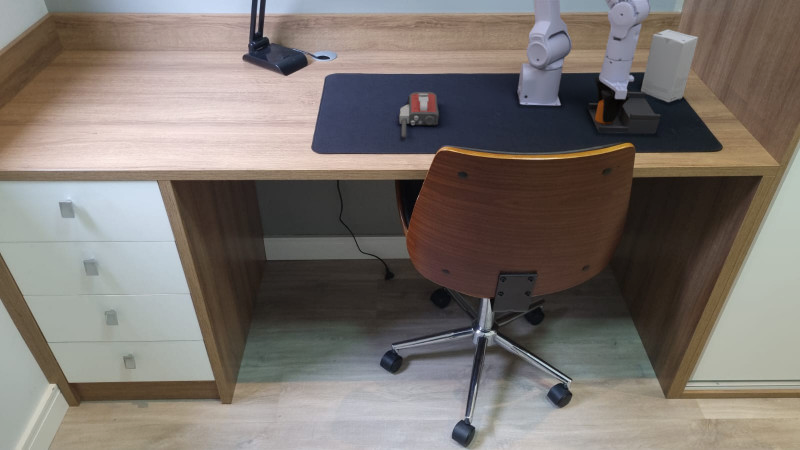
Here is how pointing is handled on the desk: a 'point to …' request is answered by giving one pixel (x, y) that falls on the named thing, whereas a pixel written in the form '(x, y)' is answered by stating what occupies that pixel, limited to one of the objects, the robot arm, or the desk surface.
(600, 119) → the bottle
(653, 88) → the cosmetic box
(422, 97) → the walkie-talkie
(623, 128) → the rack
